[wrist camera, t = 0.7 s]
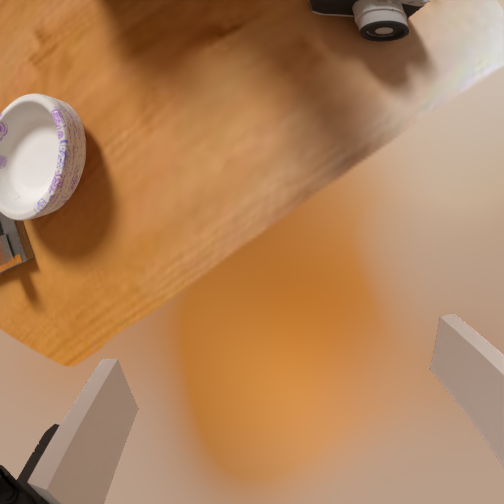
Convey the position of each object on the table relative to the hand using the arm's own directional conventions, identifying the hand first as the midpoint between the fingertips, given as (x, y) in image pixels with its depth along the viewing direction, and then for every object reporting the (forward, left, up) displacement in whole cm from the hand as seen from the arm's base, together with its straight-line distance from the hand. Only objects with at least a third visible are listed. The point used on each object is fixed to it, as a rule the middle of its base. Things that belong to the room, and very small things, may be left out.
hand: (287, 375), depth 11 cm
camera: (-25, +22, -27) cm, 43 cm away
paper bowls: (-18, -23, -27) cm, 40 cm away
